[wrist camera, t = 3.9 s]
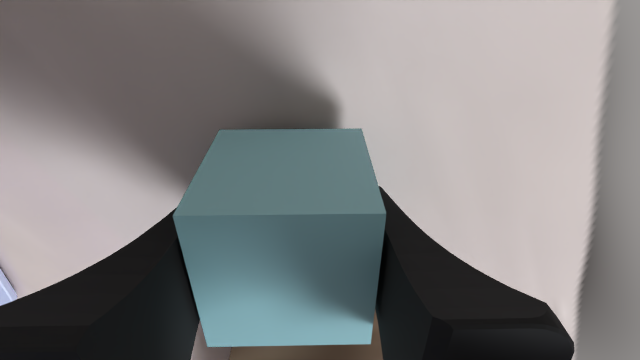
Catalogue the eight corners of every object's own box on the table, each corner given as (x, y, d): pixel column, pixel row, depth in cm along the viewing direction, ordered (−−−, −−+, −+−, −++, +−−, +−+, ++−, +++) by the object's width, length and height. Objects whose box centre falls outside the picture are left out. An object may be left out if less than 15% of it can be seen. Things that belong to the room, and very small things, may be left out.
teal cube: (236, 238, 15) (207, 346, 11) (219, 129, 13) (172, 216, 8) (354, 237, 15) (370, 344, 11) (361, 128, 13) (386, 213, 8)
